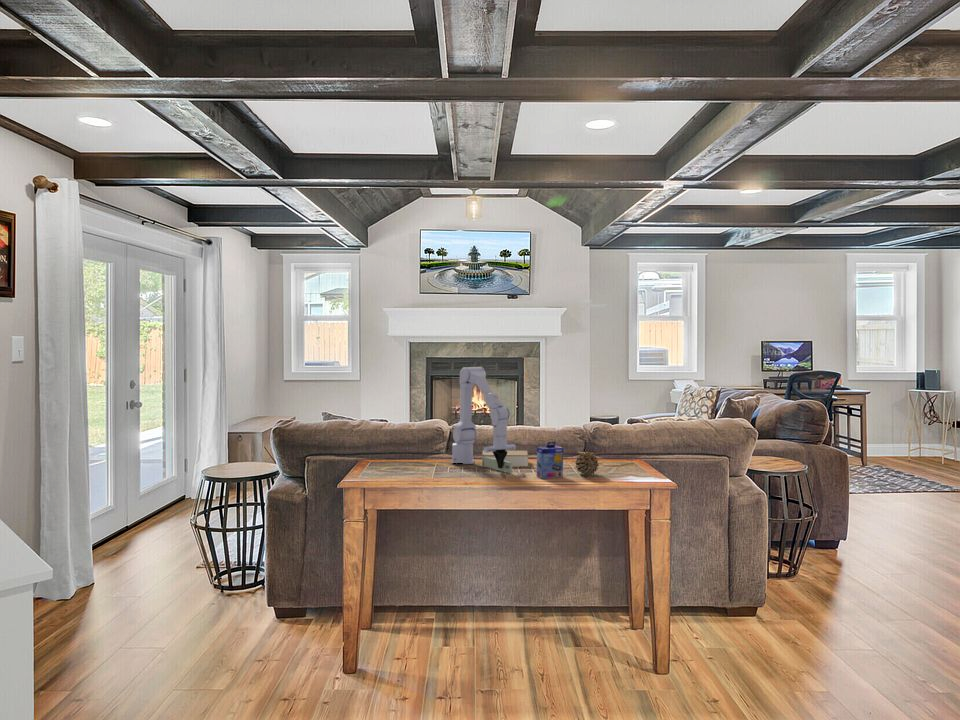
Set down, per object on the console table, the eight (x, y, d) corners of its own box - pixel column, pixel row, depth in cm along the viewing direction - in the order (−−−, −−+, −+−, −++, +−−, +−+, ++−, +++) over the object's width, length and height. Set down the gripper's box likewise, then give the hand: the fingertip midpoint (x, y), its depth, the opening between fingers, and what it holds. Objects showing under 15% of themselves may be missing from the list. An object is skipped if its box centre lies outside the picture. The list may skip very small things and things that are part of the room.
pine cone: (602, 479, 263) (602, 454, 263) (578, 479, 263) (578, 454, 262) (591, 468, 285) (591, 445, 285) (568, 468, 285) (568, 445, 284)
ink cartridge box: (542, 479, 263) (542, 443, 262) (535, 476, 268) (535, 441, 268) (563, 477, 267) (563, 441, 266) (557, 474, 272) (557, 439, 271)
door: (481, 466, 288) (481, 456, 288) (484, 465, 290) (484, 456, 289) (508, 473, 274) (508, 463, 274) (512, 472, 275) (512, 462, 275)
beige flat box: (482, 466, 290) (482, 455, 289) (482, 461, 302) (482, 450, 301) (527, 466, 289) (527, 455, 289) (527, 461, 301) (526, 450, 301)
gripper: (490, 438, 270) (490, 471, 270) (519, 435, 277) (519, 467, 278) (481, 436, 276) (481, 468, 276) (510, 433, 284) (510, 465, 284)
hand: (500, 468), depth 278 cm, fingers closed
